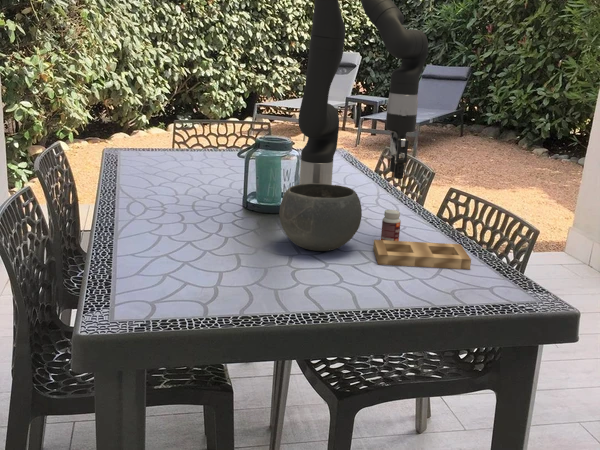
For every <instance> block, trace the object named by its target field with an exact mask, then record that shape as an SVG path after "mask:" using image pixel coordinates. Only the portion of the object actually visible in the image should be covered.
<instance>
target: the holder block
mask: <svg viewBox="0 0 600 450" xmlns="http://www.w3.org/2000/svg"><path fill="white" fill-rule="evenodd" d="M372 246H373V247H372V249H373V252H374V257H375V260H376V263H377V265H379V266H383V265H384V266H397V267H398V266H399V267H402V266H403V267H416V268H417V267H419V268H437V269H454V270H471V264H472V258H471V257H470V255H469V254H468V253H467V252H466V250H465V249H464V247H463V245H462V244H460V243H442V242H441V243H440V242H424V241H405V240H399V241H389V240H381V239H373V245H372Z"/></svg>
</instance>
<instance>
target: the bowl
mask: <svg viewBox="0 0 600 450" xmlns="http://www.w3.org/2000/svg"><path fill="white" fill-rule="evenodd" d="M299 184H300V183H299ZM299 184H295V185H292V186H289V188H288V189H286V191H285V193H283V196H282V198H281V202H280V205H279V211H278V212H279V213H278V214H279V221H280V225H281V227H282V230H283V232H284V233H285V234H286V236H287V237H288V238H289V239H288V240H290V241H291V242H292V243H293V244H295V245H296V246H298V247H299V248H302V249H305V250H308V251H315V252H328V251H329V252H330V251H333V250H336V249H339V248H341V247H343V246H344V245H346V244H347V243H348V242H349V241H351V239H353V237H355V235H356V233H357V232H358V229H359V228H360V226H361V221H362V215H363V213H362V212H363V211H362V205H361V200H360V197H359V195H358V194H357V192H356V191H355V190H354V189H353V188H350V187H348V186H344V185H339V184H332V185H330V184H317V183H309V184H300V185H299Z"/></svg>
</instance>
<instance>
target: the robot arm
mask: <svg viewBox="0 0 600 450" xmlns="http://www.w3.org/2000/svg"><path fill="white" fill-rule="evenodd" d="M360 2H361V6H362V9H363V12H364V13H365V15H366V16H367V18H368V19H369V21H370V22H371V23H372V24H373V26H374V27H375V28H376V29H377V30H378V32H379V35H380V38H381V39H382V41H383V45H384V47H385V49H386V50H387V52H388V53H389V54H390V55H391V56H393V57H394V58H395V59H399V60H402V61H401V64H400V66H399V67H398V68H396V69H394V70H393V71H392V72H391V75H390V82H389V85H390V86H389V95H388V99H387V106H386V118H385V129H386V130H387V131H389V132H390V135H391V136H390V145H389V157H390V165H389V171H390V172H391V173H394V174H393V179H395V180H402V179H403V178H404V173H405V172H404V171H405V165H406V164H407V162H408V160H407V159H408V148H409V140H410V139H408V138H407V133H413V132H415V131H416V128H417V125H416V124H417V116H418V106H419V99H418V95H419V87H420V77H421V74H422V72H423V69H424V65H425V62H426V59H427V56H428V52H429V41H428V37H427V35H426V34H425V32H423V31H422V30H419V29H409V28H408V29H406V28H405V27H404V26H403V24H404V21H405V19H404V14H403V13H402V11H401V10H400V9H399V8H398V7H397V5H396V4H395V2H393V0H360ZM313 5H314V6H313V17H312V25H311V26H312V27H311V33H310V40H309V47H308V48H309V49H308V59H307V60H308V61H307V68H306V74H305V75H306V76H305V84H304V89H303V94H302V99H301V102H300V103H301V104H300V108H299V112H298V117H297V118H298V127H299V130H300V131H301V133H302V134H303V135H304V136H305V137H307V142H306V143H305V146H304V147H303V148H302V149H301V152H300V153H301V154H300V167H299V168H300V169H299V173H300V174H299V184H298V185H300V184H309V183H317V184H330V185H333V184H332V183H333V167H334V156H335V154H336V151H337V147H338V140H339V131H340V116H339V112H338V110H337V109H336V107H335V106H333V104H330V103H329V97H330V96H329V94H330V89H331V85H332V83H333V80H334V78H335V77H336V74H337V72H338V70H339V67H340V64H341V62H342V59H343V56H344V50H345V49H344V48H345V42H346V27H345V22H344V19H343V15H342V12H341V9H340V4H339V0H314V4H313Z"/></svg>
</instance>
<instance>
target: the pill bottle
mask: <svg viewBox="0 0 600 450" xmlns="http://www.w3.org/2000/svg"><path fill="white" fill-rule="evenodd" d="M400 217H401V211H400V210H396V209H386V210H384V213H383V217H382V221H381V234H380V240H389V241H400V231H401V224H402V221H401V219H400Z"/></svg>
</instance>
